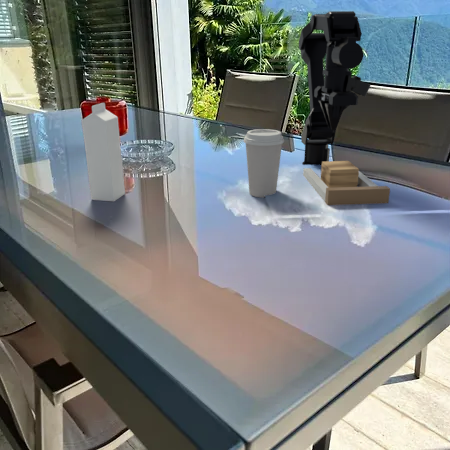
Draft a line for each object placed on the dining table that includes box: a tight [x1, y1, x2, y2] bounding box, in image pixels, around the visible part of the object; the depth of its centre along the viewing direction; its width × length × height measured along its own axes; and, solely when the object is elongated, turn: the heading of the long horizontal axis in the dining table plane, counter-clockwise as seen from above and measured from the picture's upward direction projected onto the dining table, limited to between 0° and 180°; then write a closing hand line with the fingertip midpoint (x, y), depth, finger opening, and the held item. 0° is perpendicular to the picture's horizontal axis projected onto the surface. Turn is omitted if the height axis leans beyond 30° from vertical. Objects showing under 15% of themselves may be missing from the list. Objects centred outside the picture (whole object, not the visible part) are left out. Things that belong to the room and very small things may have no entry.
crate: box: [320, 160, 360, 188], centre depth 116 cm, size 8×7×5 cm
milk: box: [81, 102, 126, 202], centre depth 107 cm, size 6×6×22 cm
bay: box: [302, 167, 391, 206], centre depth 114 cm, size 24×14×4 cm, turn 4°
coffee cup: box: [243, 128, 285, 199], centre depth 110 cm, size 10×10×15 cm
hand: (332, 129), depth 121 cm, fingers open, 3 cm apart
